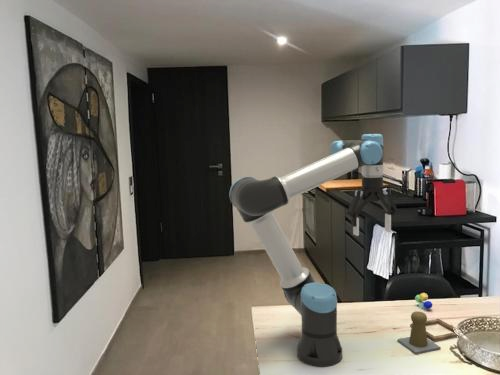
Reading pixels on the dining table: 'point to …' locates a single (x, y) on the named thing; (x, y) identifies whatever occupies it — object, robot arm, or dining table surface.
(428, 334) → the wooden square frame
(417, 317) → the cork
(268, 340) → the dining table surface
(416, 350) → the slate pad
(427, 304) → the colourful toy
